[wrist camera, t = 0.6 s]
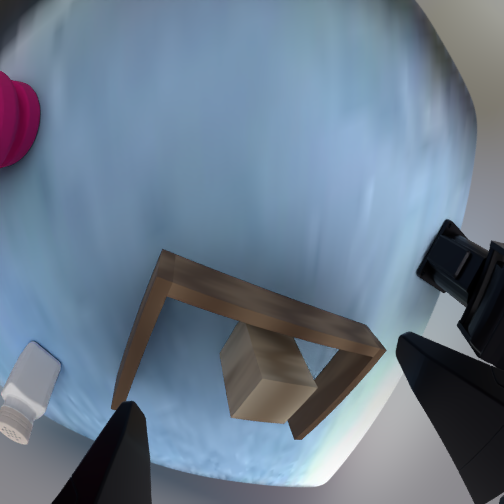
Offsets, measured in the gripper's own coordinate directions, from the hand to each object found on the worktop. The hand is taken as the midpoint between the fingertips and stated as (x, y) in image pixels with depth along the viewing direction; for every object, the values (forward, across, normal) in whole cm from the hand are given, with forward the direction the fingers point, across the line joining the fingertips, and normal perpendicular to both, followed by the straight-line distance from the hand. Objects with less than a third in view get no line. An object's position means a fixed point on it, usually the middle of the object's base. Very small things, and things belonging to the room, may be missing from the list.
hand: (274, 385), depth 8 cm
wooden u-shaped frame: (+13, +1, +11) cm, 17 cm away
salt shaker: (+13, +21, +8) cm, 25 cm away
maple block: (+13, 0, +10) cm, 16 cm away
